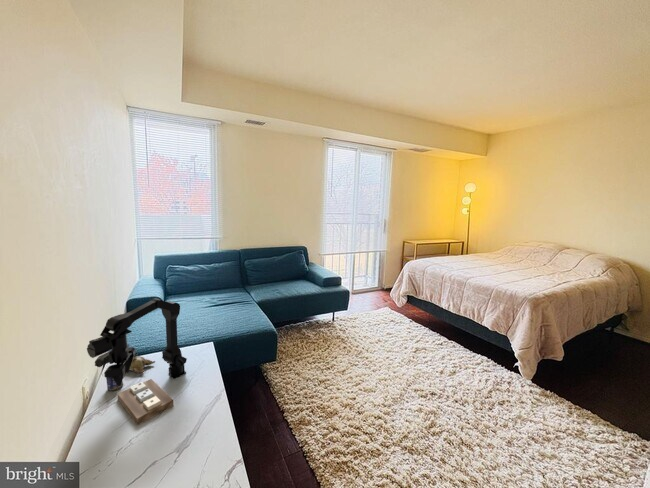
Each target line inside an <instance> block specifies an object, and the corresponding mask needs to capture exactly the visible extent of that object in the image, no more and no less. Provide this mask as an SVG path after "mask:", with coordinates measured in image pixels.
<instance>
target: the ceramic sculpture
mask: <svg viewBox="0 0 650 488" xmlns="http://www.w3.org/2000/svg"><path fill="white" fill-rule="evenodd" d="M154 363H156V361H155V360H154V361H152V360H150V359H147V358H145V357H143V356H141V355H138V356H137V355H136V354H135V356H134V358H133V361H132V364H131V366H130V369H129V371H133V372H134V373H136V374H142V373H145V370H144V368H145V367H146V366H150V365H153V364H154Z"/></svg>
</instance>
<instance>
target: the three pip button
mask: <svg viewBox="0 0 650 488" xmlns="http://www.w3.org/2000/svg"><path fill="white" fill-rule="evenodd" d="M136 397H137V400H138V401H139V402H140V403H141V402H143V401H145V400H147V399H149V398H151V397H153V393H152V391H151V390H150V389H146V390H144V391H142V392H140V393H138V394H136Z"/></svg>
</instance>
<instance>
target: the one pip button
mask: <svg viewBox="0 0 650 488" xmlns="http://www.w3.org/2000/svg"><path fill="white" fill-rule="evenodd" d="M159 405H161V401H160V400H159V399H158V398H157V397H156V396H154V397H152V398H150V399H148V400H146V401H144V402H143V406H144V408H145V409H146V410H147V411H149V410H151V409H153V408H155V407H157V406H159Z"/></svg>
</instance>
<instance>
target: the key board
mask: <svg viewBox="0 0 650 488" xmlns="http://www.w3.org/2000/svg"><path fill="white" fill-rule="evenodd" d="M142 382H143V381H142ZM143 383H144V384H145V385H146V389H150V390H151V391H152V393H153V397H154V396H156V397H157V398H158V399H159V400H160V401H161V405H159V406H157V407H155V408H153V409H151V410H149V411H147V410H146V409H145V408H144V406H143V402H144V401H143V402H141V403H140V402H139V401H138V400H137V397H136V394H135V395H133V394H132V393H131V392H130V387H129V388H127V389H126V390H125V389H124V390H123V391H121V392H118V393H117V400H118V401H119V402H120V404H121V406H123V408H124V409H125V410H126V412H127V413H128V414H129V416H130V417H131V418H132V420H133V421H134V422H135V423H136V425H138V426H139V425H141V424H143V423H144V422H146V421H149V420H150V419H152V418H153V417H155V416H157V415H159V414H161V413H163V412H165V411H167V410H169V409H170V408H172V407H174V406H175V404H174V399H173V398H172V397H171V396H170V395H169V394H168V393H167V392H166V391H165V390H164V389H162V388H161V387H160V386H159V385H158V384H157V382H155V381H154V380H153V379H152V378H150V379H148V380H146V381H144V382H143ZM141 392H142V391H141ZM139 393H140V392H139ZM137 394H138V393H137ZM151 398H152V397H151ZM149 399H150V398H149ZM147 400H148V399H147ZM145 401H146V400H145Z"/></svg>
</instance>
